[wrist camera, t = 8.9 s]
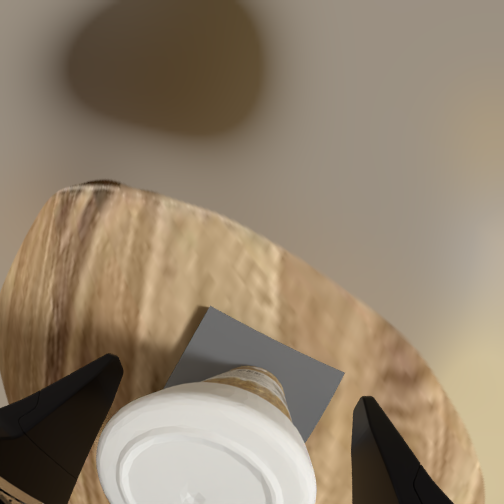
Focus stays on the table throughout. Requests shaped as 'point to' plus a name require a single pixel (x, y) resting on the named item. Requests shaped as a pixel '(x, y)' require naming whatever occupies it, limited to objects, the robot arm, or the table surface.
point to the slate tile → (259, 355)
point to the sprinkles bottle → (207, 445)
